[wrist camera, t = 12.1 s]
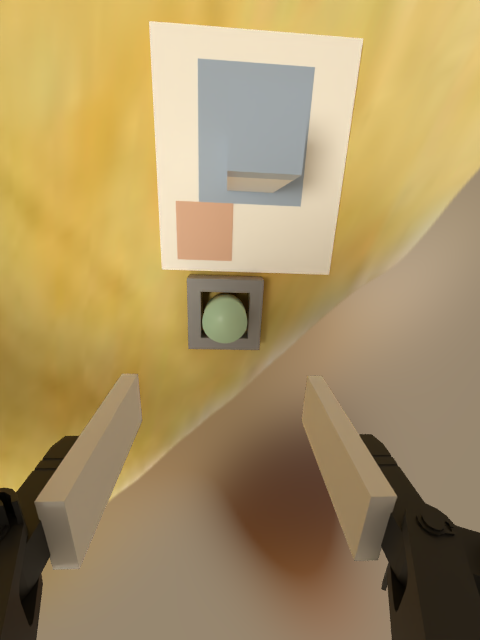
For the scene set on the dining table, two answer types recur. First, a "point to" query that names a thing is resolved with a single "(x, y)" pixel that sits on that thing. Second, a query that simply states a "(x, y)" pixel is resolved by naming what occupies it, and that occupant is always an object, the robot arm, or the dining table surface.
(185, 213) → the picture card
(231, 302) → the button
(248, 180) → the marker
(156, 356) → the dining table surface
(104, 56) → the dining table surface
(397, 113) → the dining table surface
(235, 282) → the button housing
